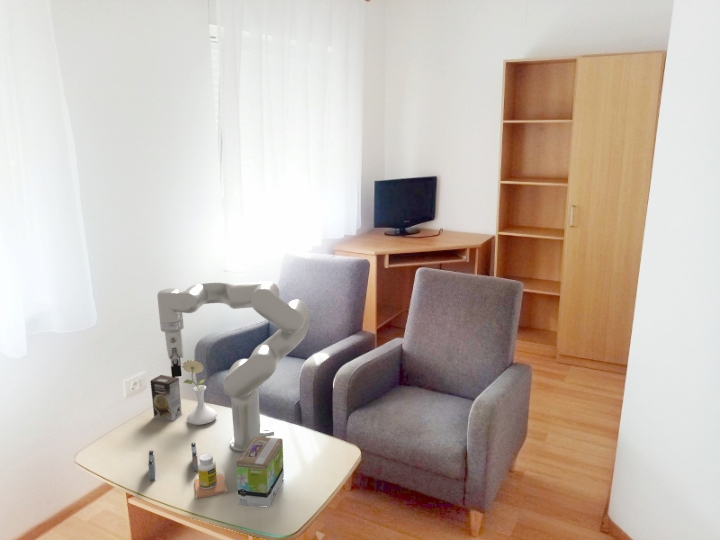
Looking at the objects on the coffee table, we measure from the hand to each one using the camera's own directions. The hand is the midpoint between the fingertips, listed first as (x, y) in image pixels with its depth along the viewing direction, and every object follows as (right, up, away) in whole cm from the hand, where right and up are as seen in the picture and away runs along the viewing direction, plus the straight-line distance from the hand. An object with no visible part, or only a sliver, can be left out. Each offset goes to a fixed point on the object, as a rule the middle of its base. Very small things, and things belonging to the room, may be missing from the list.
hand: (176, 371), depth 191 cm
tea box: (+34, -34, -21) cm, 52 cm away
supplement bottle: (+16, -33, -19) cm, 41 cm away
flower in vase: (+2, -24, +23) cm, 33 cm away
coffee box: (-12, -23, +27) cm, 38 cm away
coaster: (+17, -33, -19) cm, 42 cm away
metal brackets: (+2, -31, -9) cm, 33 cm away
